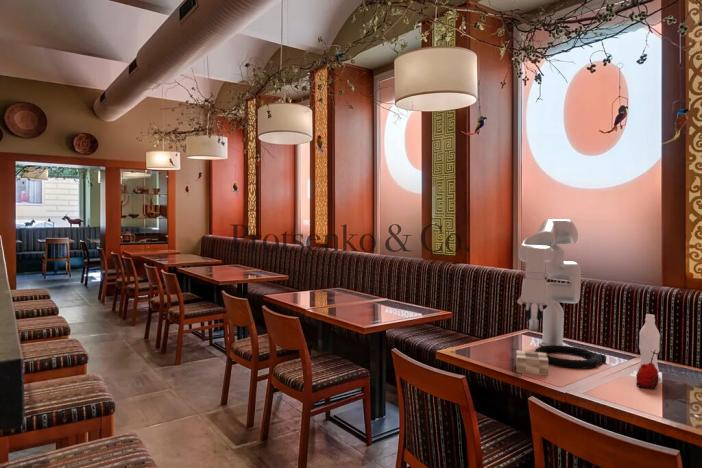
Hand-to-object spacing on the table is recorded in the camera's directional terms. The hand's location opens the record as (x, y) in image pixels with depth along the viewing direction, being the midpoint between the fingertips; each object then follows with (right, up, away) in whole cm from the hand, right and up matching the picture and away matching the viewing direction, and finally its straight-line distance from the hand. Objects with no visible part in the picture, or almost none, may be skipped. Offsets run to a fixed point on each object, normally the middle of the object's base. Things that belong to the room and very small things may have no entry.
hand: (533, 319), depth 201 cm
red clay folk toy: (+36, -23, -18) cm, 46 cm away
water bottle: (+45, -22, -5) cm, 50 cm away
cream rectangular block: (-1, -21, +1) cm, 21 cm away
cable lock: (+22, -22, +16) cm, 35 cm away
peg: (0, -4, 0) cm, 4 cm away
